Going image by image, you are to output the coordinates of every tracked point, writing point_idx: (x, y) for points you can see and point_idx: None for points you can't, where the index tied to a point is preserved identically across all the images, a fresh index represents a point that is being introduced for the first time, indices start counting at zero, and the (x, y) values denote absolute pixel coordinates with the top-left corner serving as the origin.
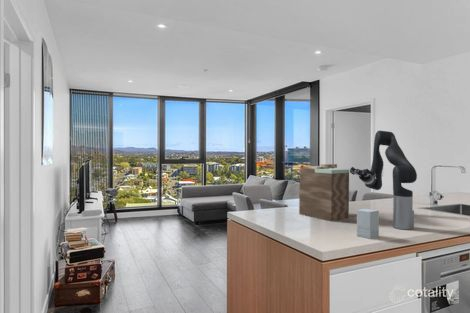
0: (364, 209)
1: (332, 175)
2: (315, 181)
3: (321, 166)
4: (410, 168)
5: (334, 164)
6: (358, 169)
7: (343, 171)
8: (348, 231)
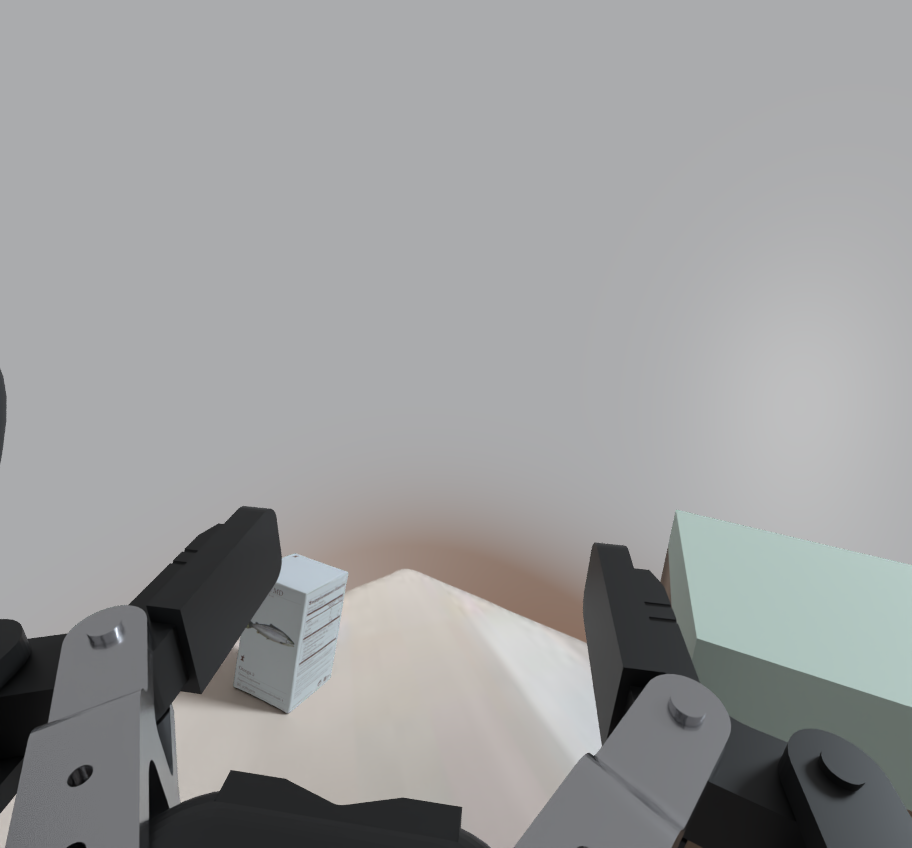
0: (314, 576)
1: (663, 571)
2: None
3: None
4: None
5: None
6: (549, 808)
7: (678, 600)
8: (370, 730)
